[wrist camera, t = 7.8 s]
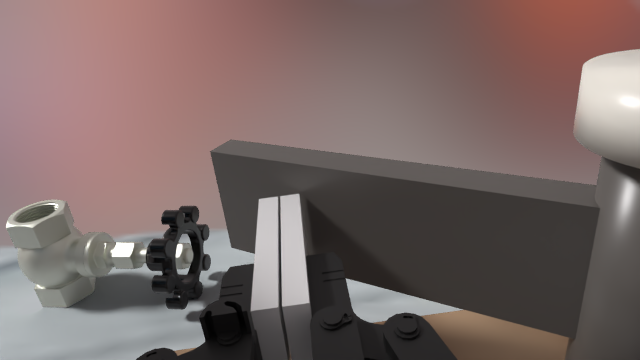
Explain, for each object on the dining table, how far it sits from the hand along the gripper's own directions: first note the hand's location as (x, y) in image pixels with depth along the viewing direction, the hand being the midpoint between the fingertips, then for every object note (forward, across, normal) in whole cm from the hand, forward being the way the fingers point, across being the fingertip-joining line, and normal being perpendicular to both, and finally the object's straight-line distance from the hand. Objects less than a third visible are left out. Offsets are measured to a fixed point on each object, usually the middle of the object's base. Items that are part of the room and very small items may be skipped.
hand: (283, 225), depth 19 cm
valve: (+10, -13, -10) cm, 19 cm away
